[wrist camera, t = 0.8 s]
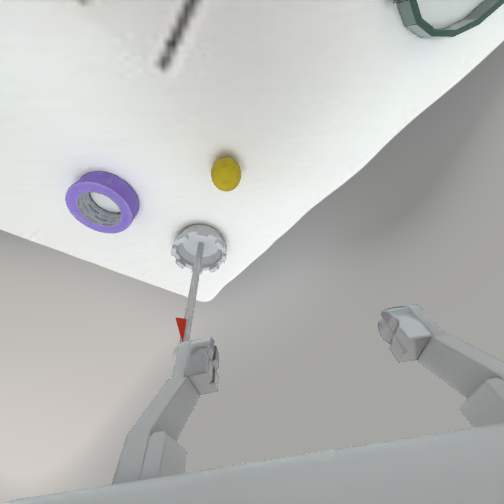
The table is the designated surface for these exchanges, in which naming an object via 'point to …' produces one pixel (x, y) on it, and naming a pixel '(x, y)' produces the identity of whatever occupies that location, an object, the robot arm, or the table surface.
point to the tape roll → (94, 215)
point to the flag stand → (196, 265)
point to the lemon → (226, 174)
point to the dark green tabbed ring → (423, 29)
